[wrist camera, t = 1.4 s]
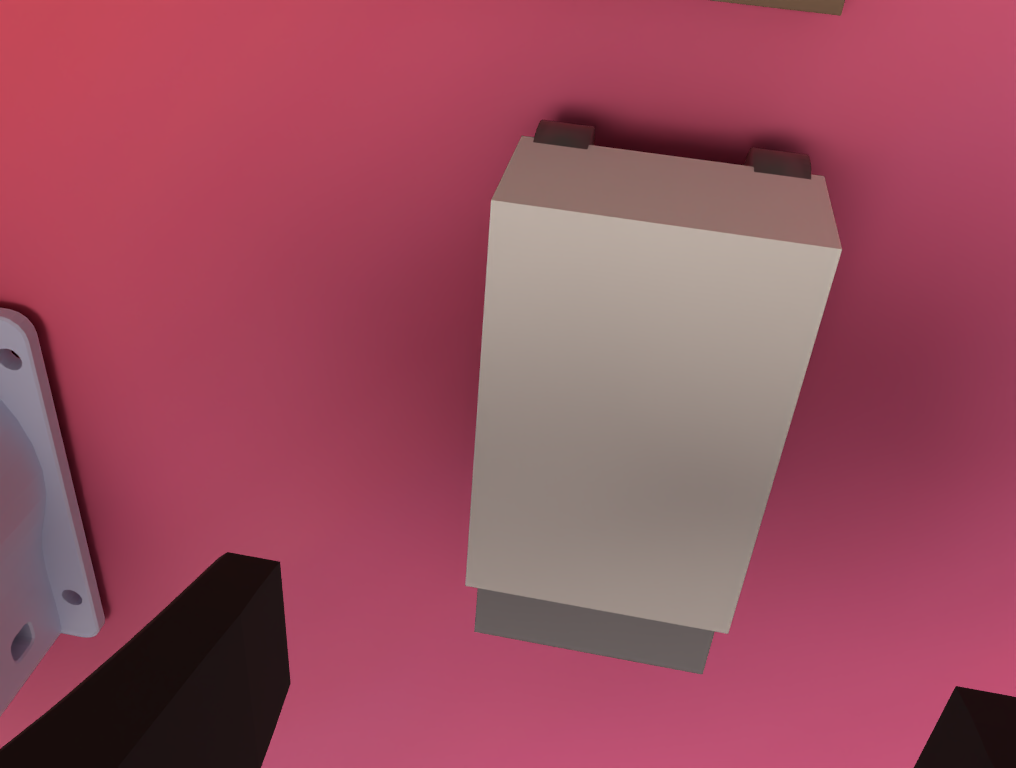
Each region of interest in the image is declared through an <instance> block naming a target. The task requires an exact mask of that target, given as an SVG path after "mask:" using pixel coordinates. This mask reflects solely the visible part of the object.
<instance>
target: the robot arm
mask: <svg viewBox="0 0 1016 768" xmlns="http://www.w3.org/2000/svg"><path fill="white" fill-rule="evenodd" d="M11 350H12V351H14V352H15V353H16V354H18V355H19V357H20V358H17V357H16V356H15V355H14V354H13V353H12V352H11ZM104 624H105V617H104V612H103V608H102V604H101V600H100V596H99V591H98V587H97V583H96V579H95V574H94V570H93V566H92V562H91V558H90V553H89V549H88V545H87V541H86V537H85V532H84V528H83V524H82V520H81V516H80V511H79V507H78V503H77V499H76V495H75V490H74V486H73V482H72V478H71V474H70V469H69V465H68V461H67V457H66V453H65V448H64V444H63V440H62V436H61V432H60V427H59V423H58V419H57V415H56V411H55V406H54V402H53V398H52V394H51V390H50V385H49V381H48V377H47V373H46V368H45V364H44V360H43V356H42V352H41V347H40V343H39V339H38V335H37V332H36V330H35V328H34V325H33V324H32V323H31V322H30V321H29V319H28V318H27V317H25V316H24V315H22V314H21V313H19V312H17V311H14V310H11V309H6V308H0V716H1V715H2V714H3V712H4V711H5V710H6V708H7V707H8V705H9V704H10V703H11V701H12V700H13V698H14V697H15V696H16V694H17V693H18V692H19V690H20V689H21V687H22V686H23V685H24V683H25V682H26V681H27V679H28V678H29V676H30V675H31V674H32V672H33V671H34V669H35V668H36V667H37V665H38V664H39V663H40V661H41V660H42V658H43V657H44V656H45V654H46V653H47V652H48V650H49V649H50V647H51V646H52V645H53V643H54V642H55V640H56V639H57V638H58V636H59V635H60V634H61V633H64V634H69V635H74V636H79V637H93V636H96V635H97V634H98V632H99V631H100V629H101V628H102V627H103V625H104ZM289 686H290V672H289V661H288V649H287V637H286V626H285V614H284V603H283V591H282V579H281V568H280V562H278V561H273V560H267V559H262V558H256V557H251V556H245V555H240V554H234V553H229V552H227V553H225V554H224V555H222V556H221V557H219V558H218V559H217V560H216V561H215V562H214V563H213V564H212V565H211V566H210V567H208V568H207V569H206V570H205V571H204V572H203V573H202V574H201V575H200V576H199V577H198V578H197V579H196V580H195V581H194V582H192V583H191V584H190V585H189V586H188V587H187V588H186V589H185V590H184V591H183V592H182V593H181V594H180V595H179V596H178V597H176V598H175V599H174V600H173V601H172V602H171V603H170V604H169V605H168V606H167V607H166V608H165V609H164V610H163V611H161V612H160V613H159V614H158V615H157V616H156V617H155V618H154V619H153V620H152V621H151V622H149V623H148V624H147V625H146V626H145V627H144V628H143V629H142V630H141V631H140V632H138V633H137V634H136V635H135V636H134V637H133V638H132V639H131V640H130V641H128V642H127V643H126V644H125V645H124V646H123V647H122V648H121V649H120V650H118V651H117V652H116V653H115V654H114V655H113V656H111V657H110V658H109V659H108V660H107V661H106V662H105V663H103V664H102V665H101V666H100V667H99V668H98V669H96V670H95V671H94V672H93V673H92V674H91V675H90V676H88V677H87V678H86V679H85V680H84V681H83V682H81V683H80V684H79V685H78V686H77V687H76V688H75V689H73V690H72V691H71V692H70V693H69V694H68V695H67V696H65V697H64V698H63V699H62V700H61V701H59V702H58V703H57V704H56V705H55V706H53V707H52V708H51V709H50V710H49V711H47V712H46V713H45V714H44V715H42V716H41V717H40V718H39V719H37V720H36V721H35V722H34V723H32V724H31V725H30V726H29V727H27V728H26V729H25V730H24V731H22V732H21V733H20V734H18V735H17V736H16V737H15V738H13V739H12V740H11V741H10V742H8V743H7V744H6V745H5V746H3V747H2V748H1V749H0V768H261V766H262V763H263V760H264V757H265V755H266V752H267V749H268V746H269V744H270V741H271V738H272V735H273V733H274V730H275V727H276V724H277V721H278V718H279V715H280V712H281V709H282V706H283V703H284V700H285V698H286V695H287V692H288V689H289ZM914 768H1016V697H1012V696H1007V695H1002V694H996V693H991V692H985V691H980V690H974V689H969V688H963V687H958V686H956V687H955V689H954V691H953V693H952V695H951V697H950V699H949V701H948V702H947V704H946V706H945V708H944V710H943V712H942V714H941V716H940V718H939V720H938V722H937V724H936V726H935V728H934V730H933V732H932V734H931V735H930V737H929V739H928V741H927V743H926V745H925V747H924V749H923V751H922V753H921V755H920V757H919V759H918V761H917V763H916V765H915V767H914Z"/></svg>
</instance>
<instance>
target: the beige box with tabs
mask: <svg viewBox="0 0 1016 768" xmlns="http://www.w3.org/2000/svg"><path fill="white" fill-rule="evenodd" d="M594 141H595V127H594V126H586V125H579V124H571V123H563V122H556V121H548V120H541V121H540V123H539V125H538V127H537V130H536V133H535V137H527V136H521V138H520V141H519V143H518V145H517V147H516V149H515V151H514V153H513V155H512V157H511V159H510V162H509V164H508V166H507V168H506V170H505V172H504V174H503V176H502V178H501V180H500V183H499V185H498V187H497V189H496V191H495V193H494V195H493V197H492V199H491V211H490V225H489V240H488V255H487V270H486V285H485V300H484V315H483V330H482V345H481V360H480V375H479V390H478V404H477V419H476V434H475V449H474V464H473V479H472V494H471V509H470V524H469V539H468V554H467V569H466V583H465V586H469V587H475V588H478V592H477V605H476V618H475V631H474V632H479V633H484V634H490V635H495V636H500V637H506V638H511V639H516V640H522V641H527V642H532V643H538V644H543V645H548V646H554V647H559V648H564V649H570V650H575V651H580V652H586V653H591V654H596V655H602V656H607V657H612V658H618V659H623V660H628V661H634V662H639V663H644V664H650V665H655V666H660V667H666V668H671V669H676V670H682V671H687V672H692V673H698V674H703V670H704V667H705V663H706V660H707V656H708V653H709V649H710V646H711V642H712V639H713V635H714V632H715V631H716V632H721V633H727V634H728V633H729V629H730V626H731V622H732V619H733V616H734V612H735V609H736V606H737V602H738V599H739V595H740V592H741V589H742V585H743V582H744V579H745V575H746V572H747V568H748V565H749V562H750V558H751V555H752V552H753V548H754V545H755V542H756V538H757V535H758V531H759V528H760V525H761V521H762V518H763V515H764V511H765V508H766V504H767V501H768V498H769V494H770V491H771V488H772V484H773V481H774V477H775V474H776V471H777V467H778V464H779V461H780V457H781V454H782V450H783V447H784V444H785V440H786V437H787V434H788V430H789V427H790V423H791V420H792V417H793V413H794V410H795V407H796V403H797V400H798V396H799V393H800V390H801V386H802V383H803V380H804V376H805V373H806V370H807V366H808V363H809V359H810V356H811V353H812V349H813V346H814V343H815V339H816V336H817V332H818V329H819V326H820V322H821V319H822V316H823V312H824V309H825V305H826V302H827V299H828V295H829V292H830V289H831V285H832V282H833V278H834V275H835V272H836V268H837V265H838V262H839V258H840V255H841V251H842V247H841V243H840V239H839V235H838V230H837V226H836V222H835V218H834V214H833V210H832V206H831V202H830V198H829V194H828V189H827V185H826V181H825V177H824V176H819V175H812V174H811V163H810V158H809V156H808V155H807V154H800V153H792V152H784V151H777V150H769V149H761V148H754V147H752V148H751V149H750V151H749V153H748V155H747V157H746V160H745V163H744V165H737V164H729V163H722V162H714V161H707V160H699V159H692V158H684V157H677V156H669V155H662V154H654V153H647V152H639V151H632V150H624V149H617V148H609V147H602V146H594Z"/></svg>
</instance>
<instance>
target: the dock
mask: <svg viewBox="0 0 1016 768" xmlns="http://www.w3.org/2000/svg"><path fill="white" fill-rule="evenodd" d="M712 1H720V2H729V3H737V4H746V5H755V6H763V7H772V8H780V9H789V10H798V11H806V12H815V13H823V14H832V15H841V13H842V9H843V6H844V2H845V0H712Z"/></svg>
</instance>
